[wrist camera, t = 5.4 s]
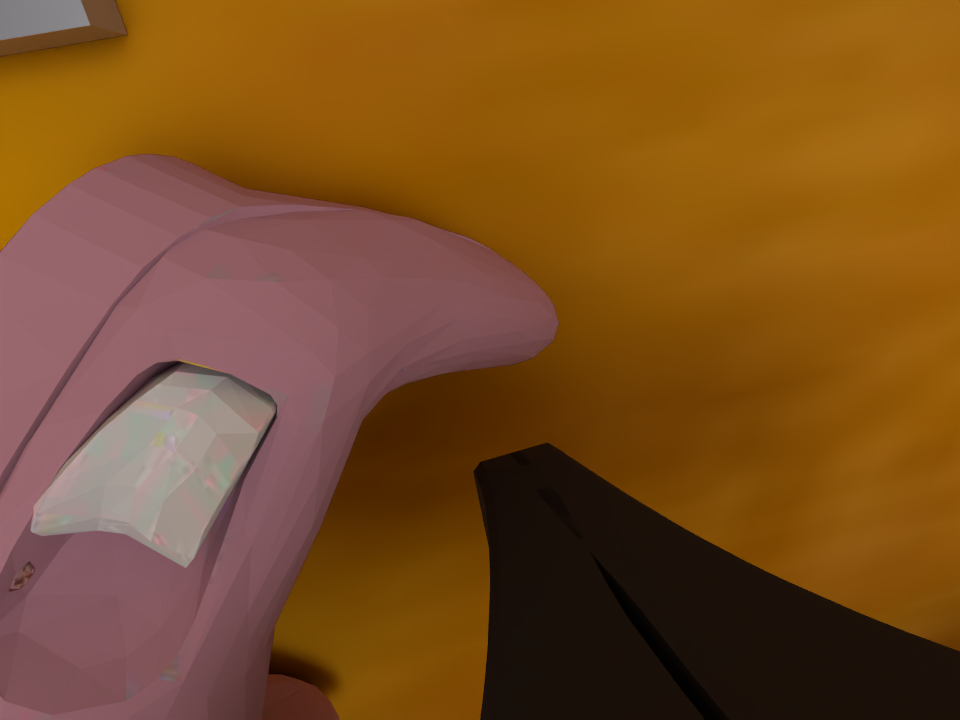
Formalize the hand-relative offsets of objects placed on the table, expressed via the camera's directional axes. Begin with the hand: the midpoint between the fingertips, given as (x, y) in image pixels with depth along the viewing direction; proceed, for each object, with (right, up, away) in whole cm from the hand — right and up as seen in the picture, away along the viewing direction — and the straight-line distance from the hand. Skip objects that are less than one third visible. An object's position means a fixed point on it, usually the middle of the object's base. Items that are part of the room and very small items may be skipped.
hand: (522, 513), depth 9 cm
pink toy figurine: (-4, 0, +2) cm, 5 cm away
